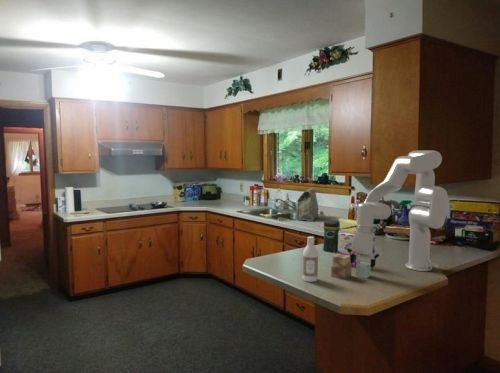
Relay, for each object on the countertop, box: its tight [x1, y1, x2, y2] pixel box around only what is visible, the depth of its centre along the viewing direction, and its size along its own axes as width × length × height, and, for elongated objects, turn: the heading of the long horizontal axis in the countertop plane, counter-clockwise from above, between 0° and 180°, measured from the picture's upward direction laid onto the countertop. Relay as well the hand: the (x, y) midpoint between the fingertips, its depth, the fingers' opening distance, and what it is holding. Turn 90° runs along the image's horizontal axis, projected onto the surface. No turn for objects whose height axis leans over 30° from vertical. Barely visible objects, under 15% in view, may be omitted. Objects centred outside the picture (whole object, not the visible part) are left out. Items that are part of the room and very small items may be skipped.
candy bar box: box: [337, 231, 362, 268], centre depth 193 cm, size 11×5×16 cm, turn 44°
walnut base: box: [330, 265, 352, 280], centre depth 175 cm, size 7×7×5 cm
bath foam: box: [301, 236, 319, 283], centre depth 169 cm, size 7×7×20 cm
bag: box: [296, 187, 319, 222], centre depth 327 cm, size 22×16×27 cm
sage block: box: [355, 261, 372, 279], centre depth 176 cm, size 5×5×6 cm
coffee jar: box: [322, 219, 341, 253], centre depth 221 cm, size 10×8×19 cm
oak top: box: [332, 253, 350, 269], centre depth 175 cm, size 6×6×5 cm
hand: (362, 264), depth 175 cm, fingers open, 9 cm apart
